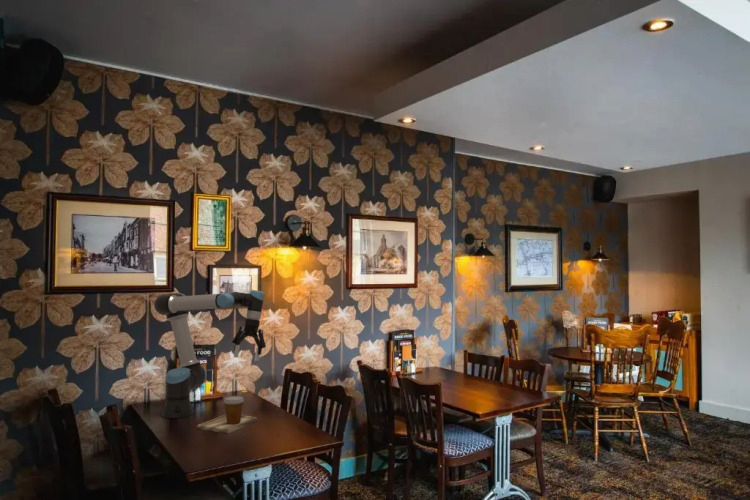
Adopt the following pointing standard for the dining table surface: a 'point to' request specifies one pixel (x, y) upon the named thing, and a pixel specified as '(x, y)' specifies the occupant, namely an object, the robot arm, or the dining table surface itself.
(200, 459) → the dining table surface
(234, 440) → the dining table surface
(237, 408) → the disposable coffee cup
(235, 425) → the striped beige cloth
